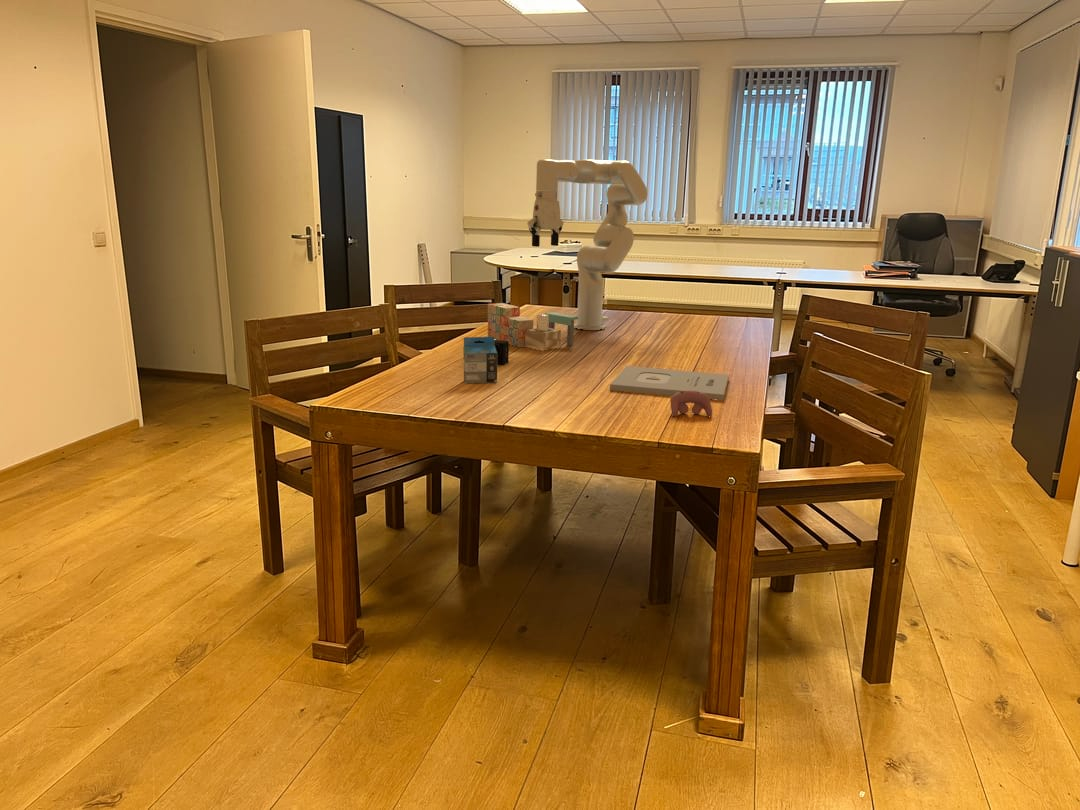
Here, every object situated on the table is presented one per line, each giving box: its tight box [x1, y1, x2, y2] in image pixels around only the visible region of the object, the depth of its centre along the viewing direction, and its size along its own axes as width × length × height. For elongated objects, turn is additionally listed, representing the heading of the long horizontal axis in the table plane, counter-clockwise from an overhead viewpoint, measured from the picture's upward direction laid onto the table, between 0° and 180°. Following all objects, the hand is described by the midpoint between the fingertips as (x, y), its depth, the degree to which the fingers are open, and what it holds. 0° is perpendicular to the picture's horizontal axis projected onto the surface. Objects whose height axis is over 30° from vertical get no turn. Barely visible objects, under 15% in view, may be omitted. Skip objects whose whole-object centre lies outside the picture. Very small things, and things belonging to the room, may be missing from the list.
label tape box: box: [463, 336, 498, 384], centre depth 214 cm, size 9×4×12 cm, turn 105°
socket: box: [524, 327, 562, 352], centre depth 264 cm, size 9×8×6 cm
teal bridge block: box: [544, 311, 578, 346], centre depth 271 cm, size 4×12×10 cm, turn 46°
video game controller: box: [670, 391, 713, 418], centre depth 188 cm, size 10×5×7 cm, turn 93°
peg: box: [536, 313, 549, 332], centre depth 263 cm, size 4×4×10 cm
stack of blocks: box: [487, 302, 534, 348], centre depth 272 cm, size 21×6×12 cm, turn 32°
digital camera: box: [474, 340, 510, 366], centre depth 238 cm, size 10×5×7 cm, turn 70°
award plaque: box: [609, 365, 730, 401], centre depth 217 cm, size 25×30×2 cm
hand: (545, 246), depth 278 cm, fingers open, 9 cm apart
